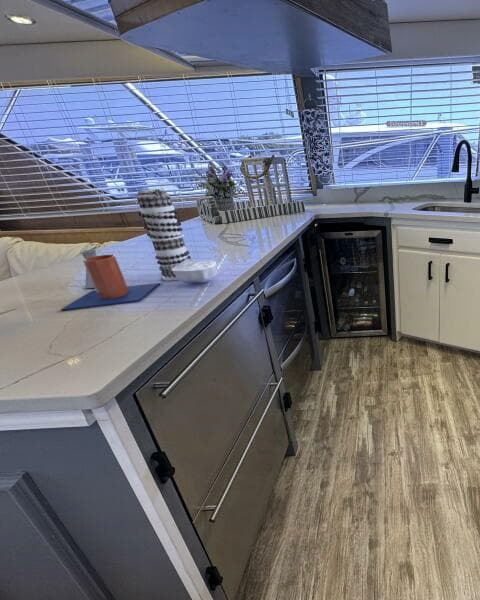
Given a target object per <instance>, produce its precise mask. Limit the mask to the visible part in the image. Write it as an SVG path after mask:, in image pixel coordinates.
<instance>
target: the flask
mask: <svg viewBox="0 0 480 600" xmlns="http://www.w3.org/2000/svg"><path fill="white" fill-rule="evenodd" d="M96 252H97V250H96V249H85V250H81V251H80V252H79V253H80V255H82V257H83V260H84V259H87V258H90V257H95V256H98V254H96ZM92 288H93V289H95V287H94V285H93V282H92V280H91V278H90V276H89V274H88V271H87V269H86V268H85V289H92Z"/></svg>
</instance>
